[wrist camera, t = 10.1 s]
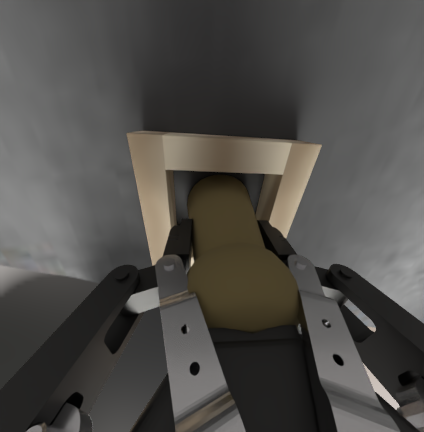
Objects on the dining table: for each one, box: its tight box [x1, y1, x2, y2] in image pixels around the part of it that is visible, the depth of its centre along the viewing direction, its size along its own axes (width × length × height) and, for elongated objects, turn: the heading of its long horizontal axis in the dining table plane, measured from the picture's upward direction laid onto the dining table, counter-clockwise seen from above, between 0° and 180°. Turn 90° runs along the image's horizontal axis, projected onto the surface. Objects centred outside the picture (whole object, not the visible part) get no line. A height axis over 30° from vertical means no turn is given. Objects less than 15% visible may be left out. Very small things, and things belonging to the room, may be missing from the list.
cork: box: [187, 174, 299, 334], centre depth 10 cm, size 6×6×11 cm
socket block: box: [127, 131, 322, 266], centre depth 14 cm, size 12×12×3 cm
